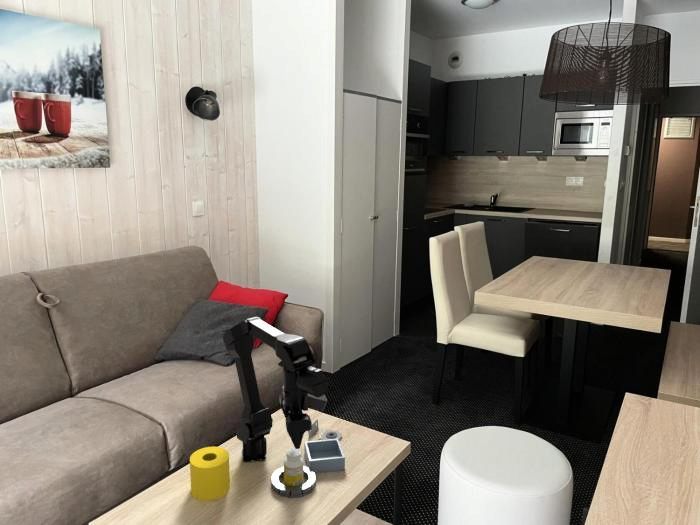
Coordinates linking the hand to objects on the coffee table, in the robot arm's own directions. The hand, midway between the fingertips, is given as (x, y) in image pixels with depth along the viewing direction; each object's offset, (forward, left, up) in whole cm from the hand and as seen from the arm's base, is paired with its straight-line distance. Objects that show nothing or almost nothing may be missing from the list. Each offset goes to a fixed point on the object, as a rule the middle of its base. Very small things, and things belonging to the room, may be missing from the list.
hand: (295, 439), depth 144 cm
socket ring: (0, 0, -13) cm, 13 cm away
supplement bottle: (0, 0, -13) cm, 13 cm away
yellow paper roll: (-22, +2, -14) cm, 26 cm away
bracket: (+13, +24, -14) cm, 30 cm away
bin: (+10, +9, -13) cm, 19 cm away
